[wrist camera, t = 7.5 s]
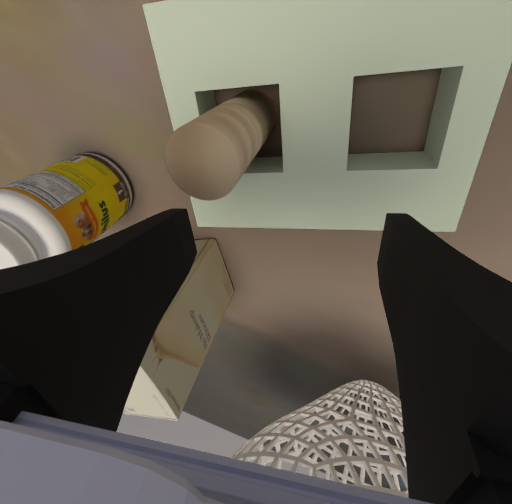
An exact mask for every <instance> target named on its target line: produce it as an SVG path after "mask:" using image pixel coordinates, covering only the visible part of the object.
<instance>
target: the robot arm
mask: <svg viewBox="0 0 512 504" xmlns="http://www.w3.org/2000/svg"><path fill="white" fill-rule="evenodd" d="M196 255H197V248H196V244H195V240H194V236H193V232H192V228H191V224H190V220H189V216H188V212H187V209H169V210H166V211H163V212H161V213H158V214H156V215H154V216H152V217H149V218H147V219H145V220H143V221H141V222H139V223H137V224H134V225H132V226H130V227H128V228H126V229H124V230H121V231H119V232H117V233H114V234H112V235H110V236H108V237H105V238H103V239H101V240H98V241H96V242H93V243H91V244H88V245H85V246H83V247H80V248H77V249H74V250H71V251H68V252H65V253H62V254H59V255H55V256H52V257H48V258H45V259H41V260H38V261H34V262H30V263H26V264H22V265H18V266H14V267H9V268H5V269H0V504H512V282H510V281H508V280H506V279H505V278H503V277H501V276H499V275H497V274H495V273H493V272H492V271H490V270H488V269H486V268H484V267H483V266H481V265H479V264H478V263H476V262H474V261H473V260H471V259H470V258H468V257H467V256H465V255H464V254H462V253H460V252H459V251H457V250H456V249H455V248H453V247H452V246H450V245H449V244H447V243H446V242H445V241H443V240H442V239H441V238H439V237H438V236H436V235H435V234H434V233H433V232H431V231H430V230H429V229H427V228H426V227H425V226H423V225H422V224H421V223H420V222H418V221H417V220H416V219H414V218H413V217H412V216H410V215H409V214H407V213H386V219H385V224H384V230H383V235H382V240H381V246H380V251H379V257H378V262H377V264H378V277H379V287H380V291H381V296H382V300H383V304H384V308H385V313H386V317H387V321H388V325H389V329H390V333H391V337H392V342H393V346H394V352H395V358H396V366H397V374H398V382H399V391H400V401H401V410H402V420H403V431H404V443H405V454H406V468H407V482H408V496H409V498H406V497H401V496H397V495H392V494H388V493H384V492H379V491H375V490H370V489H366V488H361V487H357V486H353V485H348V484H344V483H339V482H335V481H330V480H326V479H322V478H317V477H313V476H308V475H303V474H299V473H295V472H291V471H286V470H281V469H277V468H273V467H268V466H264V465H260V464H255V463H251V462H246V461H242V460H238V459H233V458H229V457H224V456H220V455H215V454H211V453H207V452H202V451H197V450H193V449H188V448H184V447H180V446H175V445H171V444H167V443H162V442H158V441H154V440H149V439H145V438H140V437H136V436H131V435H127V434H122V433H118V432H116V431H117V428H118V425H119V422H120V419H121V416H122V413H123V410H124V407H125V404H126V401H127V398H128V396H129V393H130V390H131V388H132V385H133V382H134V380H135V377H136V375H137V372H138V370H139V367H140V365H141V362H142V360H143V358H144V355H145V353H146V351H147V348H148V346H149V344H150V342H151V339H152V337H153V335H154V333H155V331H156V329H157V327H158V325H159V323H160V321H161V319H162V317H163V316H164V314H165V312H166V311H167V309H168V307H169V306H170V304H171V302H172V301H173V299H174V297H175V296H176V294H177V293H178V291H179V289H180V288H181V286H182V284H183V283H184V281H185V279H186V277H187V276H188V274H189V272H190V270H191V267H192V265H193V263H194V260H195V257H196Z"/></svg>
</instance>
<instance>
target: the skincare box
mask: <svg viewBox="0 0 512 504" xmlns="http://www.w3.org/2000/svg"><path fill="white" fill-rule="evenodd" d="M195 244H196V248H197V255H196V257H195V260H194V263H193V265H192V267H191V270H190V272H189V274H188V276H187V277H186V279H185V281H184V283H183V284H182V286H181V288H180V289H179V291H178V293H177V294H176V296H175V297H174V299H173V301H172V302H171V304H170V306H169V307H168V309H167V311H166V312H165V314H164V316H163V317H162V319H161V321H160V323H159V325H158V327H157V329H156V331H155V333H154V335H153V337H152V339H151V342H150V344H149V346H148V348H147V351H146V353H145V355H144V358H143V360H142V362H141V365H140V367H139V370H138V372H137V375H136V377H135V380H134V382H133V385H132V388H131V390H130V393H129V396H128V398H127V401H126V404H125V407H124V410H123V412H124V413H125V414H129V415H137V416H144V417H151V418H159V419H167V420H173V421H177V420H178V419H179V417H180V414H181V412H182V410H183V407H184V405H185V403H186V400H187V398H188V396H189V393H190V391H191V389H192V387H193V384H194V382H195V380H196V378H197V375H198V373H199V371H200V368H201V366H202V364H203V361H204V359H205V357H206V355H207V352H208V350H209V348H210V346H211V343H212V341H213V339H214V336H215V334H216V332H217V329H218V327H219V325H220V323H221V320H222V318H223V316H224V314H225V311H226V309H227V307H228V305H229V302H230V300H231V298H232V295H233V293H234V290H233V287H232V284H231V281H230V278H229V275H228V272H227V269H226V266H225V264H224V261H223V258H222V255H221V253H220V250H219V247H218V245H217V242H216V240H215V239H203V240H195Z"/></svg>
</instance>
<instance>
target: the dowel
mask: <svg viewBox="0 0 512 504" xmlns="http://www.w3.org/2000/svg"><path fill="white" fill-rule="evenodd" d="M275 123H276V110H275V107H274V104H273V102H272V101H271V99H270V98H269V97H268V96H267V95H266V94H264V93H263V92H261V91H258V90H246V91H243V92H241V93H240V94H238V95H236V96H234V97H233V98H231V99H229V100H227V101H225V102H224V103H222V104H220V105H218V106H216V107H215V108H213V109H211V110H209V111H208V112H206V113H204V114H202V115H200V116H199V117H197V118H195V119H193V120H191V121H190V122H188V123H186V124H184V125H183V126H181V127H179V128H178V129H176V130H175V131H174V132H173V133H172V134H171V136H170V137H169V139H168V141H167V144H166V147H165V162H166V167H167V169H168V172H169V174H170V176H171V178H172V179H173V181H174V182H175V183H176V185H177V186H178V187H179V188H180V189H181V190H183V191H184V192H185V193H187V194H188V195H190V196H192V197H194V198H197V199H200V200H207V201H211V200H217V199H220V198H223V197H224V196H226V195H227V194H229V193H230V192H231V191H232V189H233V188H234V187H235V185H236V184H237V182H238V181H239V179H240V178H241V176H242V175H243V173H244V172H245V170H246V169H247V168H248V166H249V165H250V163H251V162H252V160H253V159H254V157H255V156H256V154H257V153H258V151H259V150H260V148H261V147H262V145H263V144H264V142H265V141H266V140H267V138H268V137H269V135H270V134H271V132H272V131H273V129H274V126H275Z"/></svg>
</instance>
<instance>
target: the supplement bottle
mask: <svg viewBox="0 0 512 504" xmlns="http://www.w3.org/2000/svg"><path fill="white" fill-rule="evenodd" d="M131 203H132V192H131V187H130V185H129V182H128V180H127V178H126V177H125V175H124V174H123V172H122V171H121V170H120V169H119V168H118V167H117V166H116V165H115V164H114V163H112V162H111V161H110V160H108V159H106V158H104V157H102V156H100V155H97V154H93V153H81V154H77V155H75V156H73V157H70V158H68V159H65V160H63V161H61V162H58V163H56V164H54V165H52V166H49V167H47V168H45V169H42V170H40V171H38V172H36V173H33V174H31V175H29V176H26V177H24V178H22V179H20V180H17V181H15V182H13V183H10V184H8V185H6V186H4V187H1V188H0V269H5V268H9V267H14V266H18V265H22V264H26V263H30V262H34V261H38V260H41V259H45V258H48V257H52V256H55V255H59V254H62V253H65V252H68V251H71V250H74V249H77V248H80V247H83V246H85V245H88V244H90V243H91V242H92V241H94V240H95V239H96V238H97V237H98V236H100V235H101V234H102V233H103V232H105V231H106V230H107V229H108V228H109V227H111V226H112V225H113V224H114V223H115V222H117V221H118V220H119V219H120V218H121V217H122V216H124V215H125V214H126V213H127V212H128V210H129V208H130V206H131Z"/></svg>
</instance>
